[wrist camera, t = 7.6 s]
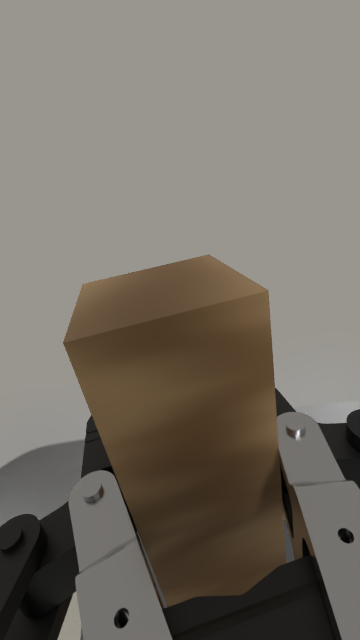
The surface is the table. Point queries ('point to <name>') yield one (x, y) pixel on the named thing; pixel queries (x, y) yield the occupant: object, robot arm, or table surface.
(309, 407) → the table surface
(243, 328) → the wooden peg
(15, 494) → the table surface
